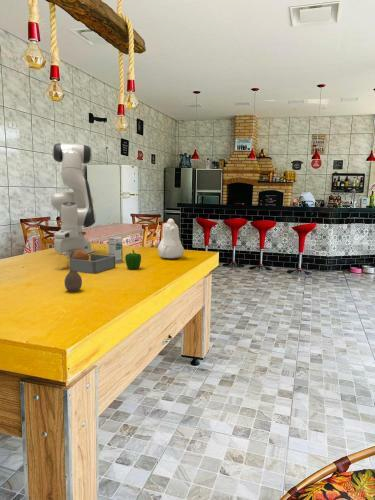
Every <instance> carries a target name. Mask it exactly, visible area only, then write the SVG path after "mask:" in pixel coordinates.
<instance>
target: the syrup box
mask: <svg viewBox="0 0 375 500" xmlns="http://www.w3.org/2000/svg"><path fill="white" fill-rule="evenodd" d="M107 239H108V243H107V244H108V246H107V247H108V256H115V264H119V263H122V262H124V261H123V260H124V259H123V257H124V256H123V253H124V252H123V237H121V236H111V237H108V238H107Z"/></svg>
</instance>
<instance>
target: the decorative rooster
mask: <svg viewBox="0 0 375 500" xmlns="http://www.w3.org/2000/svg"><path fill="white" fill-rule="evenodd" d="M161 236H162V238H161V240H160V242H159V243H158V246H157V252H158V255H159V257H161V258H162V259H163V258H164V259H177V258H180V257H182V256H183V255H184V253H185V248H184V246H183V245H182V241H181V238H180V229H179V226H178V225H177V224H176V223H175V220H174V219H173V218H168V220H167V221H166V222H165V223H163V225H162V234H161Z"/></svg>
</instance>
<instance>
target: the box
mask: <svg viewBox="0 0 375 500" xmlns="http://www.w3.org/2000/svg"><path fill="white" fill-rule="evenodd" d="M89 254H90V256H89V257H90V258H89V259H90V260H89V261H87V260H78V259H68V260H69V271H70V270H71V269H75V270H76V271H77V273H84V274H85V273H87V274H92V275H93V274H98V273H101V272H105V271H108V270H110V269H111V270H112V269H114V268H115V269H116V263H115V256H109V255H105V254H95V253H89Z"/></svg>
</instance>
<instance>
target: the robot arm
mask: <svg viewBox="0 0 375 500" xmlns="http://www.w3.org/2000/svg"><path fill="white" fill-rule="evenodd" d="M51 155H52V157H53V159H54V161H55V162H58V163H61V177H62V178H61V179H62V182H63V184H64V185H65V186H66V187H68V188H70V189H71V190H72V191H73V192H72V191H69V192H67V191H66V192H65V191H61V192H54V193H53V194H52V195H51V197H50V204H51V207H53V209H55V210H56V211H57V212H58V213H59V221H60V222H61V225H60V229H59V230H58V231H56V232H54V234H53V237H54V240H53V247H54V249H53V250H54V252H55V253H58V254H59V253H60V254H62V255H66V258H67V260H69V259H70V255H71V253H72V252H73V251H74V250H75V249H83V250H84V251H86V252H87V254H88V255H89V254H92V253H94V252H95V249H93V248H92V245H91V242H90V241H89V240H88V239H86V238H85V235H87V232H86V231H83V229H82V228H83V226H84V227H92V226H93V225H94V224H95V223H96V219H97V214H96V212H95V209H94V206H93V205H94V198H93V196H92V193H91V189H90V184H89V183H90V182H89V181H88V180H87V179H86V178H85V176H84V174H83V165H86V164H89V163H90V162H91V160H92V157H93V153H92V150H91V147H90V146H89V145H86V144H79V143H55V144H54V145H53V147H52V150H51Z"/></svg>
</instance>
